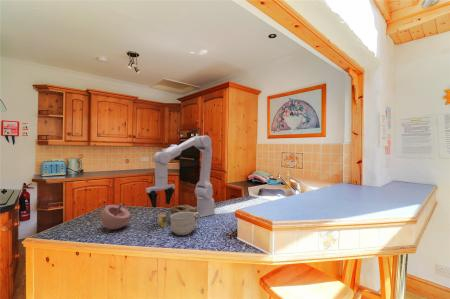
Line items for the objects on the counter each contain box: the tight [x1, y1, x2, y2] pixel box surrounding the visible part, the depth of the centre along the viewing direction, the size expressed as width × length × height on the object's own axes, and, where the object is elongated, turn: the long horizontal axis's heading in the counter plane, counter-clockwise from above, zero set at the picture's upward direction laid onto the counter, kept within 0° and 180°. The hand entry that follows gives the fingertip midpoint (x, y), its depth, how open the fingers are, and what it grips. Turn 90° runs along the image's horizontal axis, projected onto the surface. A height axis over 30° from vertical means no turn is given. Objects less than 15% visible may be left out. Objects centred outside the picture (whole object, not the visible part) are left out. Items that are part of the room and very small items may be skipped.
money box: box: [170, 203, 197, 221], centre depth 105 cm, size 9×10×6 cm
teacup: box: [169, 211, 202, 236], centre depth 91 cm, size 14×11×8 cm
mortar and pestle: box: [100, 202, 132, 230], centre depth 94 cm, size 12×12×12 cm
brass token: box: [157, 213, 168, 229], centre depth 98 cm, size 2×5×5 cm, turn 40°
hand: (161, 205), depth 98 cm, fingers open, 7 cm apart
